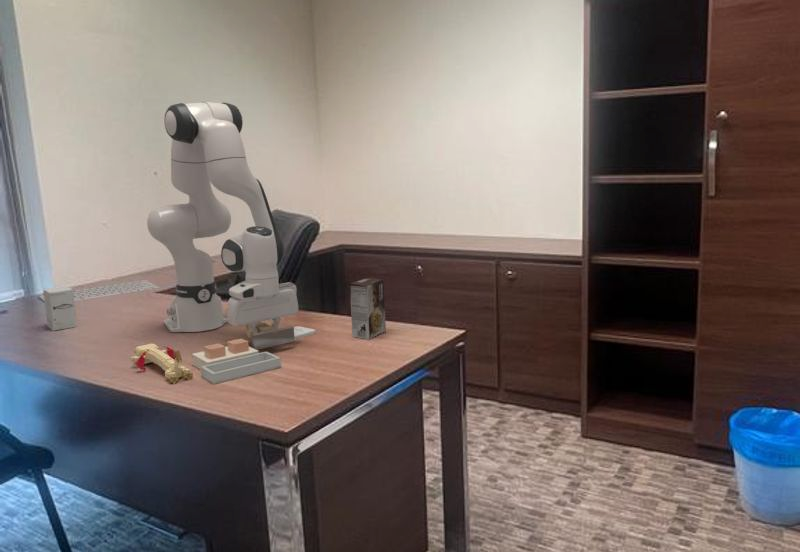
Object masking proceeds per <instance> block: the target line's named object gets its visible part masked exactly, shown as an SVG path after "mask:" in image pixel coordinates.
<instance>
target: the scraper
mask: <svg viewBox="0 0 800 552" xmlns="http://www.w3.org/2000/svg"><path fill="white" fill-rule="evenodd" d="M245 326H246V328H245V329H246V336H247V337H249V338H251V344H252V345H251V348H253V349H256V350H261V349H266V348H270V347H275V346H279V345H284V344H288V343H291V342H295V340H296V339H295V340H294V327H295V326H292V325H290V326H285V327H281V328H278V327H277V328H274V327H272V325H270V324H268V323H265V322H264V321H259V322H257V326H255V327H256V329H257V330H260V331H261V333H256V334H253V330H252V329H251V327H250V326H249V324H245Z"/></svg>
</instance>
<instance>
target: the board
mask: <svg viewBox="0 0 800 552" xmlns="http://www.w3.org/2000/svg"><path fill="white" fill-rule="evenodd" d="M225 351H226V356H223V357H219V358H214V359H210V358H208V357H206V356H205V354H204V350H203V351H199V352H194V353H191V356H192V357H191V360H192V365H193V366H194V367H196V368H197V369H199V370H201V368H200V367H201V366H206V365H210V364H214V363H219V362H223V361H227V360H232V359H236V358H240V357H245V356H249V355H253V354H258V353H260V352H259V349H257V350H256V349H253V347H252V346H249V351H245V352H241V353H236V354H234V353H232V352H230V351H228V345H227V346H225Z"/></svg>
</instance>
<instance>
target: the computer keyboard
mask: <svg viewBox="0 0 800 552" xmlns="http://www.w3.org/2000/svg"><path fill="white" fill-rule="evenodd" d="M160 288H161V286H159V285H157V284H155V283H153V282H151V281H149V280H147V279H142V280H135V281H128V282H121V283H115V284H109V285H108V284H106V285H102V286H95V287H89V288H88V287H87V288H80V289H74V290H73V296H74V302H78V301H84V300H90V299H97V298H103V297H104V298H105V297H109V296H115V295H122V294H130V293H135V292H141V291H148V290H149V291H150V290H154V289H160ZM37 298H38V299H39V300H40V301H41V302H43V303H45V300H44V294H41V295H37Z"/></svg>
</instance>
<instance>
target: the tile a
mask: <svg viewBox="0 0 800 552" xmlns="http://www.w3.org/2000/svg"><path fill="white" fill-rule="evenodd" d="M225 347H226V346H225V345H223V344H221V343H213V344H210V345H204V346H203V351H204V354H205V356H206V357H208V358H210V359H214V358H219V357H223V356H226V351H225Z"/></svg>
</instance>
